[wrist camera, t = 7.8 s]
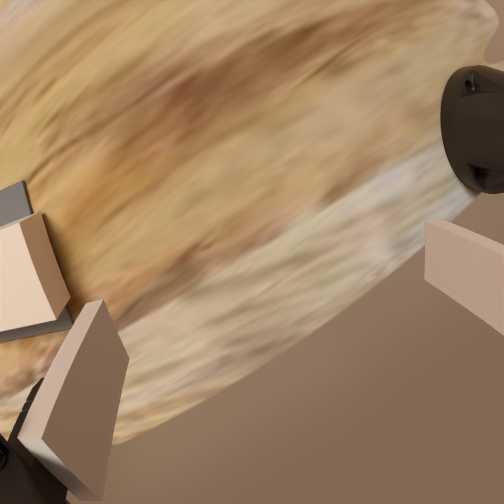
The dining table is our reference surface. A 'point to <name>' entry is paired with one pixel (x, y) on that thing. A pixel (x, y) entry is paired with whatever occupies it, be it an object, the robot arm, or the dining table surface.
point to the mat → (6, 211)
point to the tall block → (29, 275)
